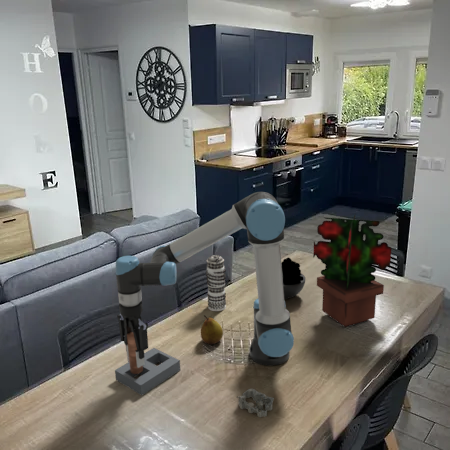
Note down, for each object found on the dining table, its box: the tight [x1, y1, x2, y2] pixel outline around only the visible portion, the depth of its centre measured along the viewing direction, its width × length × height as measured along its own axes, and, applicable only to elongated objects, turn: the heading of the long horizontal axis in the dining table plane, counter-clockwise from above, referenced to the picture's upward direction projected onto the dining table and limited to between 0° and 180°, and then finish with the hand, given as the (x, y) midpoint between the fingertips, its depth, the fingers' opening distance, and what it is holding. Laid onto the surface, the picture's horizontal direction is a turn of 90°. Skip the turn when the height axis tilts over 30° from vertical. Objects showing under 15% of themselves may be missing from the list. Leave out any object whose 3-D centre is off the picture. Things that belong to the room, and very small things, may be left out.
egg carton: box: [236, 388, 275, 418], centre depth 145 cm, size 11×8×4 cm
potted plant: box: [312, 214, 392, 328], centre depth 193 cm, size 22×22×45 cm
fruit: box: [200, 315, 224, 346], centre depth 183 cm, size 9×9×12 cm
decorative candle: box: [205, 254, 227, 312], centre depth 209 cm, size 9×9×25 cm
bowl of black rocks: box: [281, 257, 306, 299], centre depth 219 cm, size 20×20×19 cm
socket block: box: [114, 347, 181, 396], centre depth 163 cm, size 14×18×4 cm
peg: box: [127, 332, 143, 375], centre depth 157 cm, size 4×4×14 cm
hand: (136, 363), depth 158 cm, fingers closed on peg, 4 cm apart
